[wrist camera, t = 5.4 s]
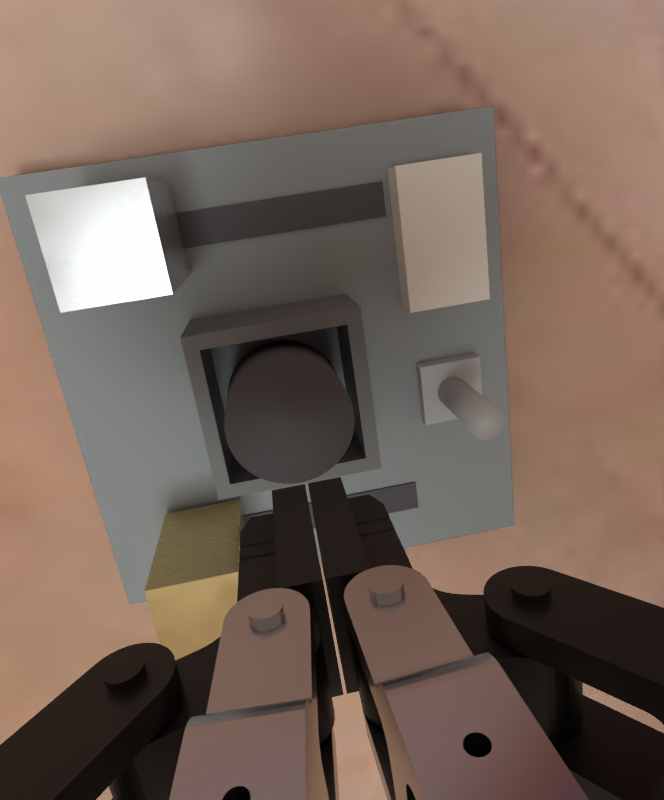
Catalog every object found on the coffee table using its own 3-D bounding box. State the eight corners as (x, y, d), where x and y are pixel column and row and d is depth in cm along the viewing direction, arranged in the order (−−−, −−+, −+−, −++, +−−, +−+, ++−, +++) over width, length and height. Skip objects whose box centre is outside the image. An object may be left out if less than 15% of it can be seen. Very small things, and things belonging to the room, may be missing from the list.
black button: (331, 331, 20) (345, 350, 17) (347, 436, 22) (362, 470, 19) (216, 351, 20) (211, 374, 17) (239, 456, 21) (238, 494, 18)
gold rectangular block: (240, 499, 24) (238, 572, 19) (254, 562, 24) (255, 646, 20) (165, 513, 23) (144, 591, 19) (182, 576, 24) (166, 665, 20)
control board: (472, 114, 22) (551, 80, 17) (496, 503, 28) (562, 581, 22) (18, 181, 21) (-71, 170, 15) (138, 576, 27) (106, 680, 21)
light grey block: (170, 185, 20) (145, 177, 15) (190, 274, 21) (172, 294, 16) (79, 198, 19) (25, 195, 15) (103, 288, 20) (60, 312, 16)
